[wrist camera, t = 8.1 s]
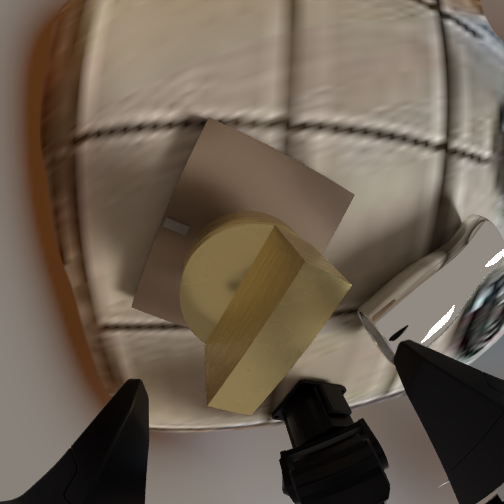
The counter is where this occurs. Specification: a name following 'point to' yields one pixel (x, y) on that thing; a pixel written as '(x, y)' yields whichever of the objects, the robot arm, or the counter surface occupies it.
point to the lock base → (234, 206)
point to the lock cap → (254, 304)
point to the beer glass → (433, 288)
